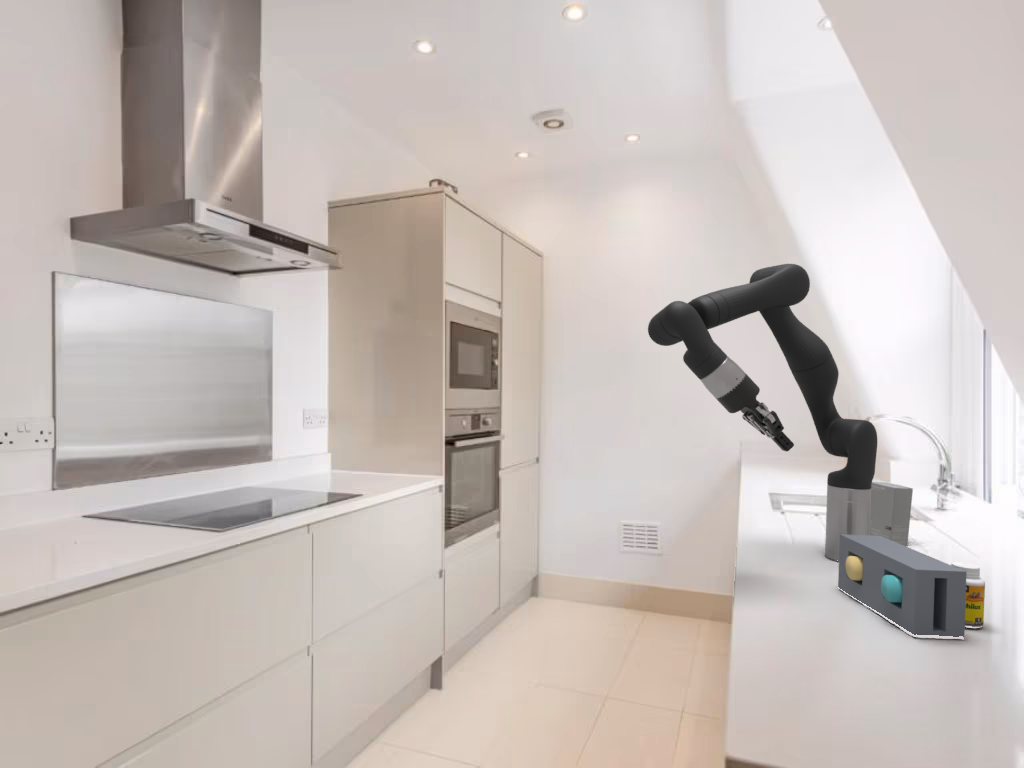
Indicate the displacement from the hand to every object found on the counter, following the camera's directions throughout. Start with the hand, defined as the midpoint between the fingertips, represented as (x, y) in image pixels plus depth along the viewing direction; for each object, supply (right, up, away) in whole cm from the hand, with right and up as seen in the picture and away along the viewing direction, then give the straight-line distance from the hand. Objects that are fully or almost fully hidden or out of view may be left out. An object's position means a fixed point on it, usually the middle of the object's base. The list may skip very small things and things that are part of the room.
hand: (789, 448), depth 123 cm
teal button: (+11, -24, -17) cm, 32 cm away
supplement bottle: (+23, -29, -16) cm, 40 cm away
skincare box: (+45, -30, +43) cm, 69 cm away
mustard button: (+11, -24, -5) cm, 27 cm away
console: (+14, -28, -11) cm, 33 cm away
